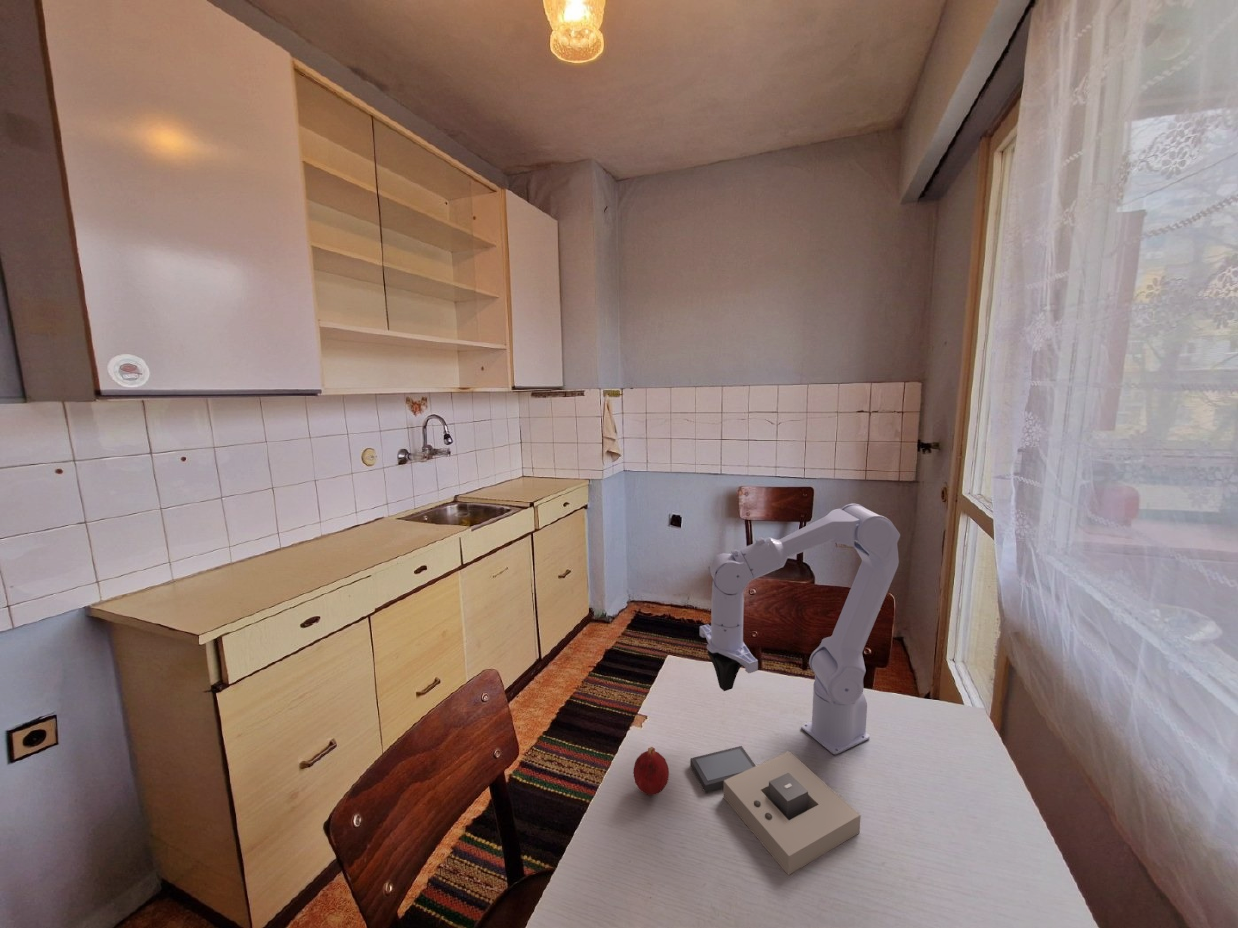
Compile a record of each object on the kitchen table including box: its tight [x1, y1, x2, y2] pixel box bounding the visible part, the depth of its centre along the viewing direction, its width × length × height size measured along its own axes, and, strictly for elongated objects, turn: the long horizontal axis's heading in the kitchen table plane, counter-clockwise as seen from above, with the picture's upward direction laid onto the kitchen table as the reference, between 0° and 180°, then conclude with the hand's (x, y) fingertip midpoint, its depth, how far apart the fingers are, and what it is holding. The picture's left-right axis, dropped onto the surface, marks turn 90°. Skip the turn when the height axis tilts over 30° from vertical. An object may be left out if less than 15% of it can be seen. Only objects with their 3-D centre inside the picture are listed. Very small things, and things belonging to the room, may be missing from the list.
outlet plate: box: [722, 751, 861, 876], centre depth 73 cm, size 14×14×3 cm
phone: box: [689, 745, 757, 794], centre depth 81 cm, size 10×6×2 cm, turn 105°
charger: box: [768, 773, 808, 820], centre depth 73 cm, size 4×4×5 cm
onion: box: [632, 746, 670, 796], centre depth 77 cm, size 6×6×8 cm
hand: (726, 687), depth 89 cm, fingers closed
